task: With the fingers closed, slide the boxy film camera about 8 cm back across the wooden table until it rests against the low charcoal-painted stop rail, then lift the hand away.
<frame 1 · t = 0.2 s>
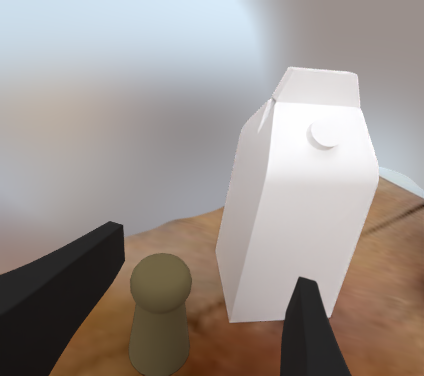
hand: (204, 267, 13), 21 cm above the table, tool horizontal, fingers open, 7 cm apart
cork: (159, 348, 32), on the table
milk: (266, 282, 41), on the table
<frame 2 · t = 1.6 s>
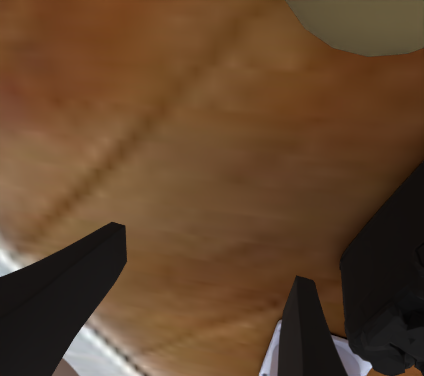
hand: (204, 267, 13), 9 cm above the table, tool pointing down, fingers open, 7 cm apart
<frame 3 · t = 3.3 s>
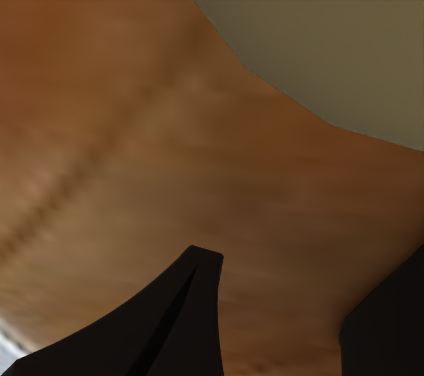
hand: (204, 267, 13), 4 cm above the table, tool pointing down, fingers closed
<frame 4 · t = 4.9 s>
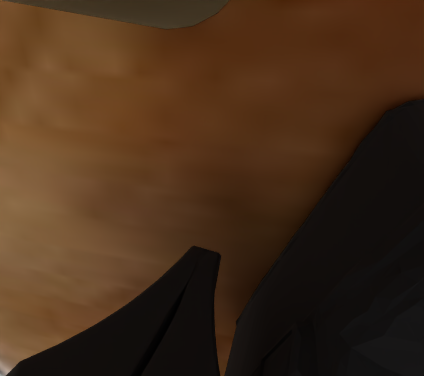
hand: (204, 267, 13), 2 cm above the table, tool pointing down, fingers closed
film camera: (389, 274, 13), on the table, touching gripper
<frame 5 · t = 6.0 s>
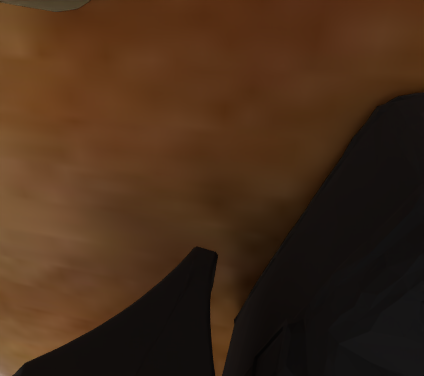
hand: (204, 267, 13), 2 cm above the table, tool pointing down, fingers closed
film camera: (385, 270, 13), on the table, touching gripper
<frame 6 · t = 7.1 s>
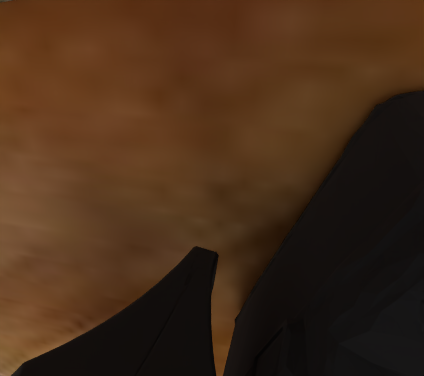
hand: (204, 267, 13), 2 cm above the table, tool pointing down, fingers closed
film camera: (385, 269, 13), on the table, touching gripper
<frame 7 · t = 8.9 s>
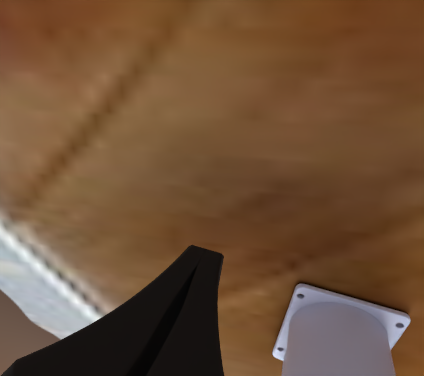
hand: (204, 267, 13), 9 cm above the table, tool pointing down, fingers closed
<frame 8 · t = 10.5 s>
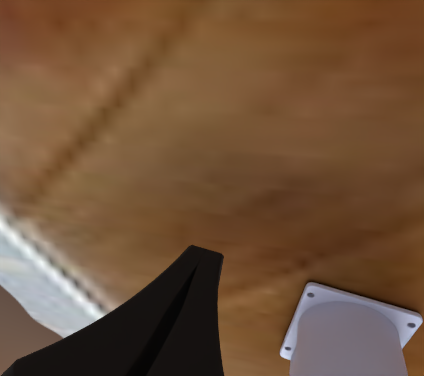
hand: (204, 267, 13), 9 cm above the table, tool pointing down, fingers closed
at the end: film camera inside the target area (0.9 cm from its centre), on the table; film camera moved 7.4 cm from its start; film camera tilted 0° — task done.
